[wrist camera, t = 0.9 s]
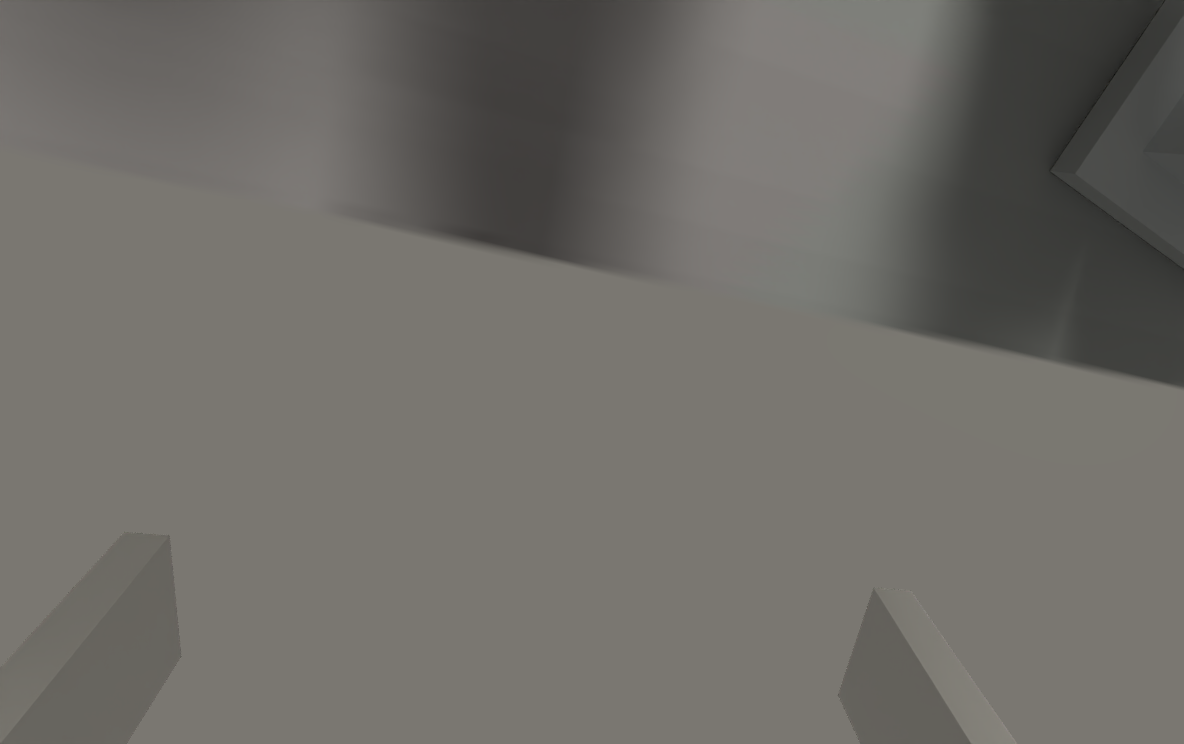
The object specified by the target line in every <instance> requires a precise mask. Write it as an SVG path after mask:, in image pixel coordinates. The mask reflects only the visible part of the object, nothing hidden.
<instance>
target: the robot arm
mask: <svg viewBox="0 0 1184 744" xmlns="http://www.w3.org/2000/svg"><path fill="white" fill-rule="evenodd" d="M180 658H181V649H180V638H179V628H178V618H177V608H176V597H175V587H174V576H173V566H172V556H171V545H170V536H169V535H156V534H143V533H129V532H124V533H123V534H122V535H121V536H120V537H119V538H118V539H117V541H116V542H115V543H114V544H113V545H112V546H111V547H110V548H109V549H108V550H107V551H106V553H105V554H104V555H103V556H102V557H101V558H100V559H99V560H98V561H97V562H96V563H95V565H94V566H93V567H92V568H91V569H90V570H89V571H88V572H87V573H86V574H85V576H84V577H83V578H82V579H81V580H80V581H79V582H78V583H77V584H76V585H75V586H74V587H73V588H72V590H71V591H70V592H69V593H68V594H67V595H66V596H65V597H64V598H63V599H62V600H61V602H60V603H59V604H58V605H57V606H56V607H55V608H54V609H53V610H52V612H51V613H50V614H49V615H48V616H47V617H46V618H45V619H44V620H43V621H42V622H41V623H40V625H39V626H38V627H37V628H36V629H35V630H34V631H33V632H32V633H31V634H30V635H29V637H28V638H27V639H26V640H25V641H24V642H23V643H22V644H21V645H20V646H19V647H18V649H17V650H16V651H15V652H14V653H13V654H12V655H11V656H10V657H9V658H8V659H7V661H6V662H5V663H4V664H3V665H2V666H1V667H0V744H127V742H128V741H129V739H130V738H131V736H132V734H133V732H134V731H135V730H136V728H137V726H138V725H139V723H140V722H141V720H142V718H143V717H144V715H145V713H146V712H147V710H148V709H149V707H150V705H151V704H152V702H153V701H154V699H155V698H156V696H157V694H158V693H159V691H160V690H161V688H162V686H163V685H164V683H165V681H166V680H167V678H168V677H169V675H170V673H171V672H172V670H173V669H174V667H175V666H176V664H177V662H178V661H179V659H180ZM838 696H839V698H840V700H841V703H842V705H843V707H844V709H845V711H846V714H847V716H848V718H849V720H850V722H851V724H852V727H853V729H854V731H855V733H856V735H857V737H858V740H859V742H860V744H1017V743H1016V741H1015V740H1014V739H1013V737H1012V736H1011V734H1010V733H1009V731H1008V730H1007V728H1006V727H1005V726H1004V724H1003V723H1002V721H1001V720H1000V719H999V717H998V716H997V714H996V713H995V711H994V710H993V708H992V707H991V705H990V704H989V702H988V701H987V700H986V698H985V697H984V696H983V694H982V693H981V691H980V690H979V688H978V687H977V685H976V684H975V682H974V681H973V679H972V678H971V677H970V675H969V674H968V672H967V671H966V669H965V668H964V667H963V665H962V664H961V662H960V661H959V659H958V658H957V656H956V655H955V654H954V652H953V651H952V649H951V648H950V646H949V645H948V643H947V642H946V641H945V639H944V638H943V636H942V635H941V633H940V632H939V631H938V629H937V628H936V626H935V625H934V623H933V622H932V620H931V619H930V618H929V616H928V615H927V613H926V612H925V610H924V609H923V607H922V606H921V605H920V603H919V602H918V600H917V599H916V597H915V596H914V594H913V593H912V592H911V591H909V590H895V589H882V588H873V591H872V594H871V597H870V600H869V603H868V606H867V609H866V612H865V615H864V619H863V622H862V624H861V628H860V630H859V633H858V636H857V639H856V642H855V645H854V648H853V652H852V655H851V657H850V660H849V663H848V666H847V669H846V672H845V675H844V678H843V682H842V685H841V688H840V691H839V694H838Z"/></svg>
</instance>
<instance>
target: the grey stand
mask: <svg viewBox="0 0 1184 744" xmlns="http://www.w3.org/2000/svg"><path fill="white" fill-rule="evenodd" d="M1050 172H1052V173H1053V174H1054V175H1056V176H1057V177H1059V178H1060V179H1061V180H1063V181H1064V182H1065V183H1067V184H1068V185H1069V186H1071V187H1072V188H1074V189H1075V190H1076V191H1078V192H1079V193H1080V194H1082V195H1083V196H1084V197H1086V198H1087V199H1089V200H1090V201H1091V202H1093V203H1094V204H1095V205H1097V206H1098V207H1100V208H1101V209H1102V210H1104V211H1105V212H1106V213H1108V214H1109V215H1110V216H1112V217H1113V218H1115V219H1116V220H1117V221H1119V222H1120V223H1121V224H1123V225H1124V226H1125V227H1127V228H1128V229H1130V230H1131V231H1132V232H1134V233H1135V234H1136V235H1138V236H1139V237H1140V238H1142V239H1143V240H1145V241H1146V242H1147V243H1149V244H1150V245H1151V246H1153V247H1154V248H1155V249H1157V250H1158V251H1160V252H1161V253H1162V254H1164V255H1165V256H1166V257H1168V258H1169V259H1171V260H1172V261H1173V262H1175V263H1176V264H1177V265H1179V266H1180V267H1181V268H1183V269H1184V0H1165V2H1164V3H1163V5H1162V6H1161V8H1160V9H1159V11H1158V12H1157V13H1156V15H1155V16H1154V18H1153V19H1152V21H1151V22H1150V24H1149V25H1148V27H1147V28H1146V30H1145V31H1144V33H1143V34H1142V36H1141V37H1140V39H1139V40H1138V42H1137V43H1136V45H1135V46H1134V48H1133V49H1132V50H1131V52H1130V53H1129V55H1128V56H1127V58H1126V59H1125V61H1124V62H1123V64H1122V65H1121V67H1120V68H1119V70H1118V71H1117V73H1116V74H1115V76H1114V77H1113V79H1112V80H1111V82H1110V83H1109V85H1108V86H1107V87H1106V89H1105V90H1104V92H1103V93H1102V95H1101V96H1100V98H1099V99H1098V101H1097V102H1096V104H1095V105H1094V107H1093V108H1092V110H1091V111H1090V113H1089V114H1088V116H1087V117H1086V119H1085V120H1084V122H1083V123H1082V125H1081V126H1080V127H1079V129H1078V130H1077V132H1076V133H1075V135H1074V136H1073V138H1072V139H1071V141H1070V142H1069V144H1068V145H1067V147H1066V148H1065V150H1064V151H1063V153H1062V154H1061V156H1060V157H1059V159H1058V160H1057V162H1056V163H1055V164H1054V166H1053V167H1052V169H1051V170H1050Z"/></svg>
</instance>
